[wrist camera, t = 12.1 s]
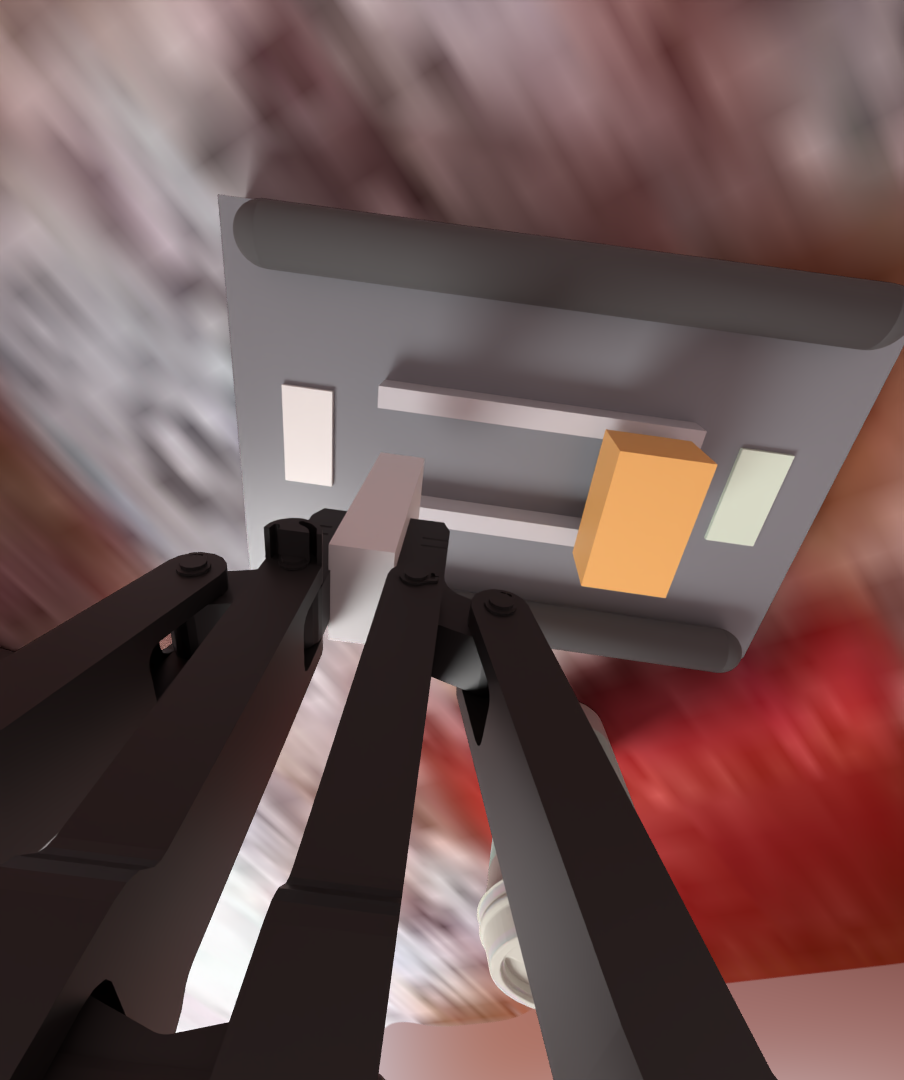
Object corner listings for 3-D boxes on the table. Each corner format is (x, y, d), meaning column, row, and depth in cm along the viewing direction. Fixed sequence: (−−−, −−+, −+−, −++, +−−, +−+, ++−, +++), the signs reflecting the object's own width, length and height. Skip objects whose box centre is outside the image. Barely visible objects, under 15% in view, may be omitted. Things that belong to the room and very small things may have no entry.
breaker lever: (566, 529, 22) (581, 586, 18) (595, 414, 19) (620, 451, 16) (635, 539, 22) (665, 598, 18) (673, 425, 19) (717, 464, 16)
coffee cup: (469, 688, 29) (454, 922, 19) (621, 670, 28) (696, 914, 17) (497, 784, 33) (497, 1024, 23) (632, 773, 32) (699, 1025, 21)
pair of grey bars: (271, 590, 25) (254, 614, 23) (246, 198, 17) (218, 190, 15) (722, 655, 24) (739, 685, 23) (902, 286, 17) (949, 288, 15)
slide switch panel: (267, 566, 26) (240, 601, 24) (243, 201, 19) (199, 189, 16) (726, 632, 26) (754, 675, 23) (890, 288, 19) (961, 291, 16)
